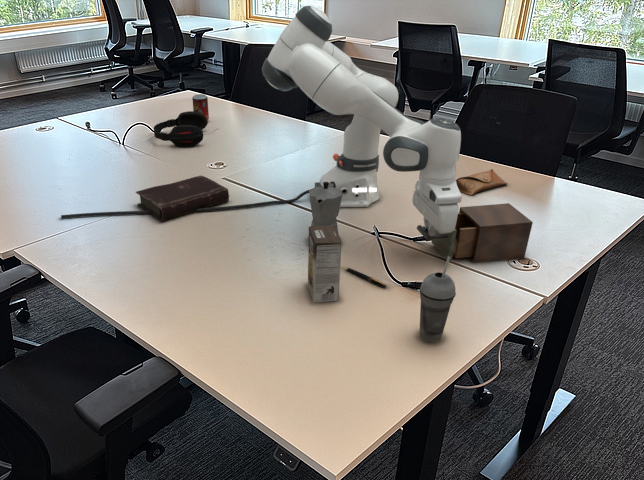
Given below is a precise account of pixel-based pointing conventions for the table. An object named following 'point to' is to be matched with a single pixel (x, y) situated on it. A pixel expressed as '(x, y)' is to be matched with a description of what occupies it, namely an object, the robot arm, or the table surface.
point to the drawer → (455, 238)
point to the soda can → (201, 104)
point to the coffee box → (324, 263)
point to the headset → (183, 129)
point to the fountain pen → (366, 277)
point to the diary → (182, 197)
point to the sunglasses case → (479, 182)
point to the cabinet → (499, 232)
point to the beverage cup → (435, 304)
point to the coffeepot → (325, 205)
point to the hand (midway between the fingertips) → (429, 234)
